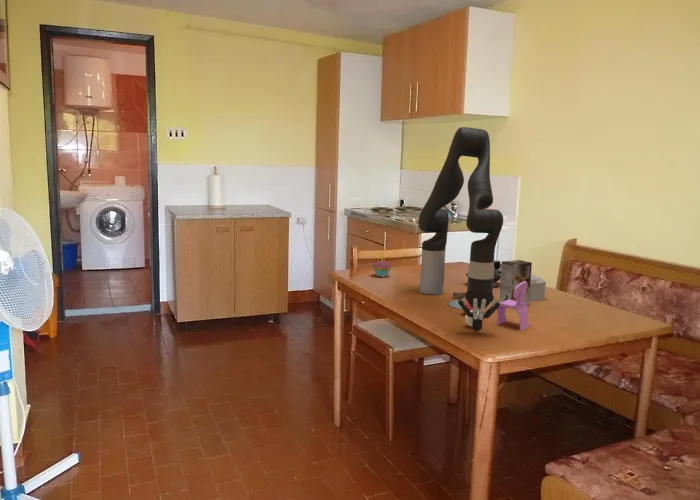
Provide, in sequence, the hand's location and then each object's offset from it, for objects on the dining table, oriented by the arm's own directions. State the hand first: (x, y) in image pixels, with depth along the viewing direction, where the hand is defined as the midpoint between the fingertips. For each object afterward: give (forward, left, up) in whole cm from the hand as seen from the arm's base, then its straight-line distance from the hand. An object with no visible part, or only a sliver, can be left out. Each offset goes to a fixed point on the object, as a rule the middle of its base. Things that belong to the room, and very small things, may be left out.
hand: (476, 330), depth 168 cm
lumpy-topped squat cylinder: (+23, +49, -1) cm, 54 cm away
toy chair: (+12, +10, -1) cm, 16 cm away
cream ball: (-1, +6, +2) cm, 6 cm away
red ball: (-1, +20, +2) cm, 20 cm away
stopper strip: (-1, +41, -1) cm, 41 cm away
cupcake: (-36, +73, -1) cm, 81 cm away
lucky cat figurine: (+9, +67, -1) cm, 68 cm away
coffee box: (+16, +37, -1) cm, 40 cm away
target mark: (-1, +32, -1) cm, 32 cm away
